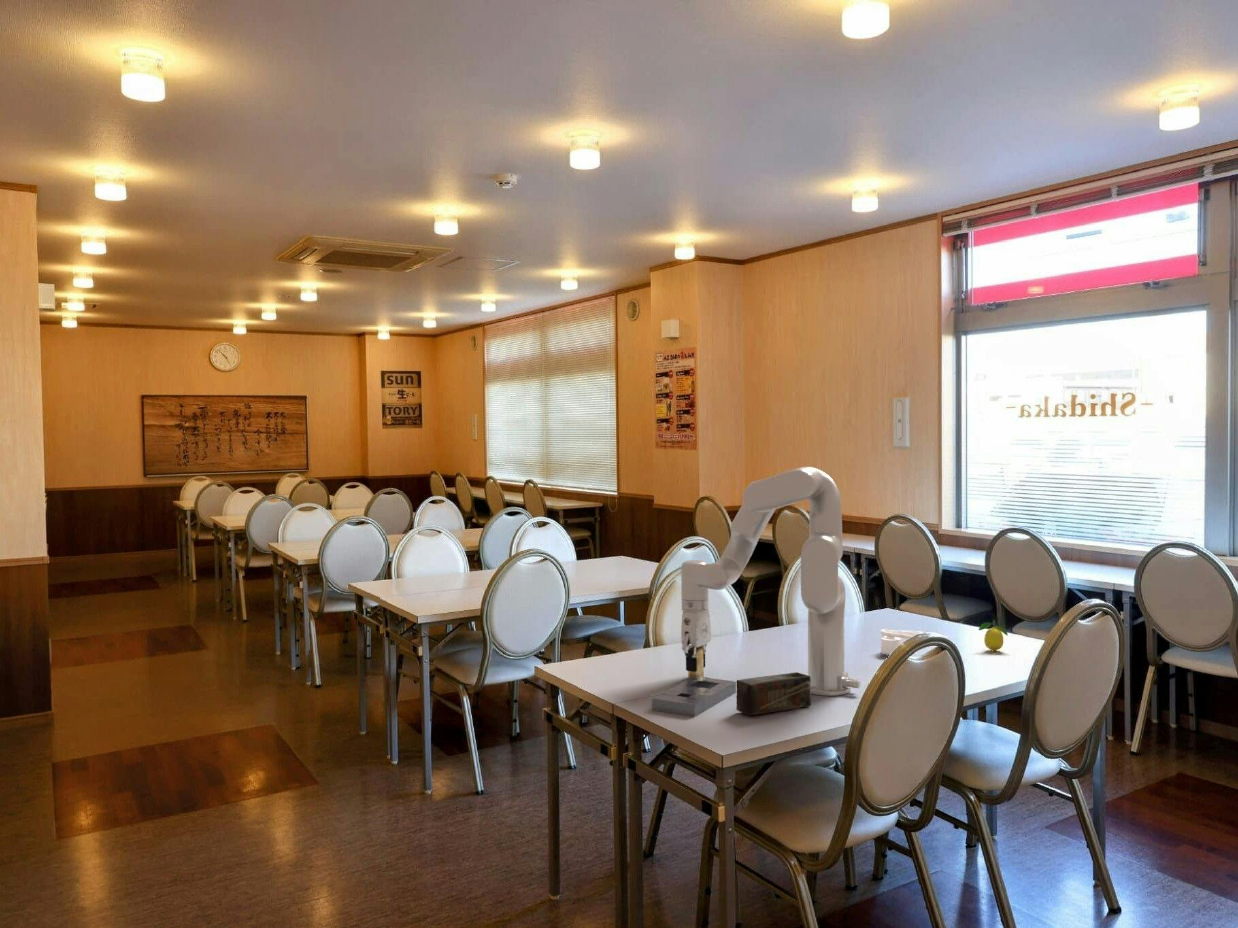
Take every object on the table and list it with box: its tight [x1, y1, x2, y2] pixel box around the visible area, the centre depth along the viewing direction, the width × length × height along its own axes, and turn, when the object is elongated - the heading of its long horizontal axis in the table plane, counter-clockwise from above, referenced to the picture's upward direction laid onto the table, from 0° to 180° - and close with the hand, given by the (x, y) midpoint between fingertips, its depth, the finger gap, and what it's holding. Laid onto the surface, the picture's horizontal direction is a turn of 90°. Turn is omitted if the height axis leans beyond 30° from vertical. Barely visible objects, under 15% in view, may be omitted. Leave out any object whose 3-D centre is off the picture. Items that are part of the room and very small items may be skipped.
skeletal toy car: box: [880, 629, 948, 656], centre depth 278 cm, size 20×11×7 cm, turn 45°
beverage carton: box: [736, 672, 812, 716], centre depth 227 cm, size 8×19×7 cm
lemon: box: [978, 621, 1009, 653], centre depth 283 cm, size 7×6×10 cm
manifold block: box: [651, 676, 737, 718], centre depth 236 cm, size 12×24×3 cm, turn 148°
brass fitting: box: [687, 644, 705, 680], centre depth 258 cm, size 4×4×9 cm
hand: (695, 668), depth 258 cm, fingers closed on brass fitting, 4 cm apart
